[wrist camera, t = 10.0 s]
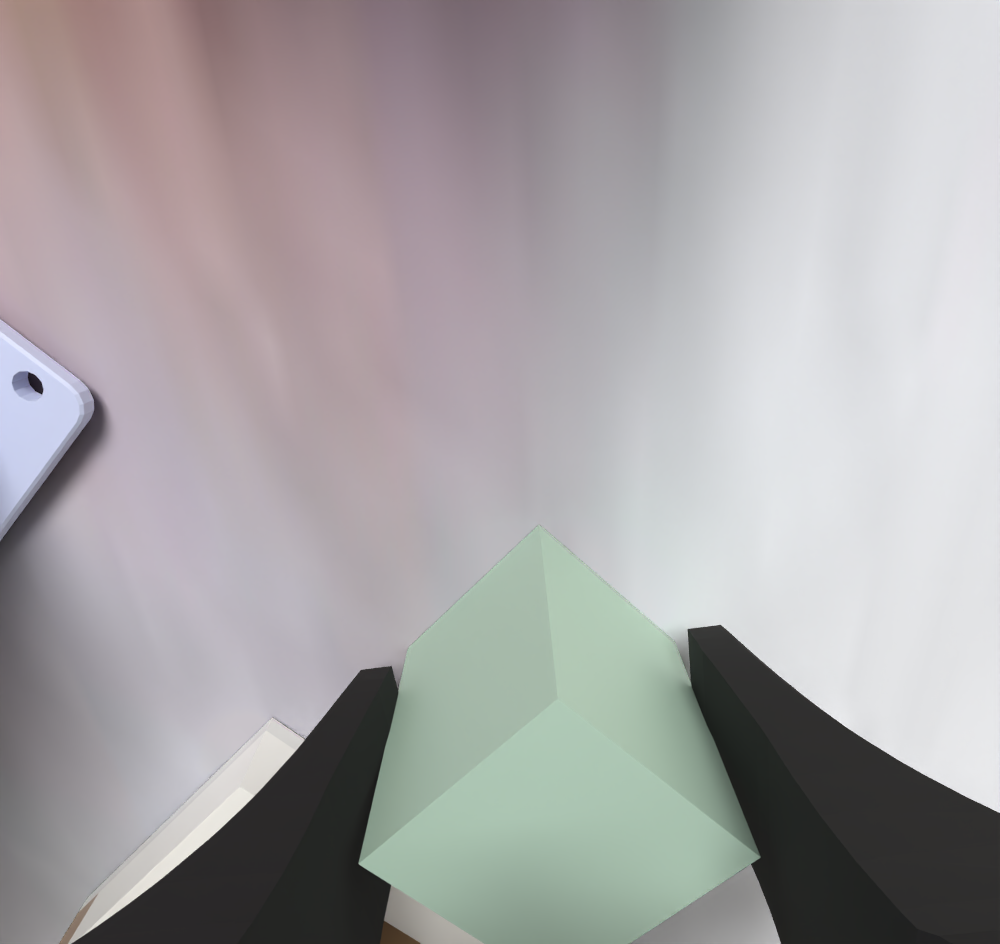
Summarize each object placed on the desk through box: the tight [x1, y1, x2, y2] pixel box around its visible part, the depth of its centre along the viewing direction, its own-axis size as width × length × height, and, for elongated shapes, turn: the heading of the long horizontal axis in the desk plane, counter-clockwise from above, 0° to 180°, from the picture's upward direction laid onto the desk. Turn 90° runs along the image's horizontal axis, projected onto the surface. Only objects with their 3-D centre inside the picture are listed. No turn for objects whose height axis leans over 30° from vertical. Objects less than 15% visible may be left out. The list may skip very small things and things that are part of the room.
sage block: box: [358, 525, 761, 944], centre depth 12 cm, size 4×4×5 cm
